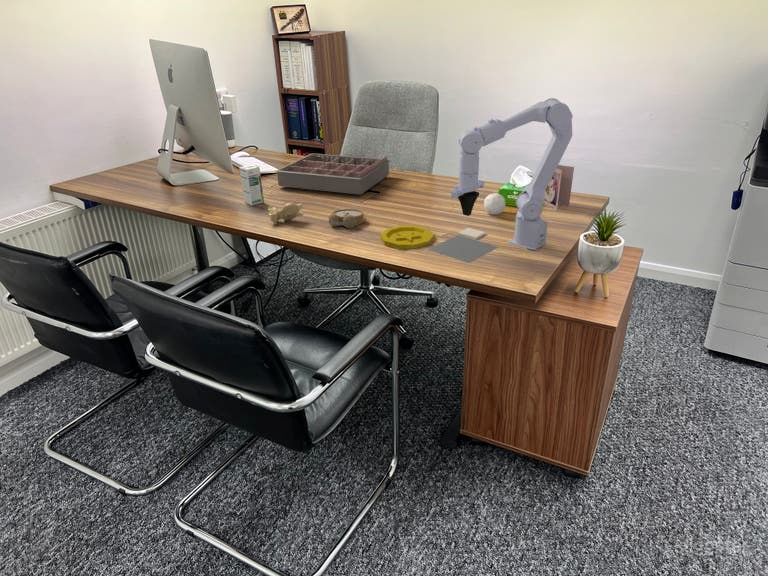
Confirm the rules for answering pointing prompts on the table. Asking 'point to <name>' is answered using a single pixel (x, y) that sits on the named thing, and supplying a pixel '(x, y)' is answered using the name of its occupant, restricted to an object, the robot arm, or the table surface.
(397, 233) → the decorative disc
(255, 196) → the syrup box
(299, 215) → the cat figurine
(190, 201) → the table surface
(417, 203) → the table surface
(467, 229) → the tile
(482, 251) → the mat
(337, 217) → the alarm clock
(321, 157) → the organizer tray
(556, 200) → the greeting card
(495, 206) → the geometric ball
